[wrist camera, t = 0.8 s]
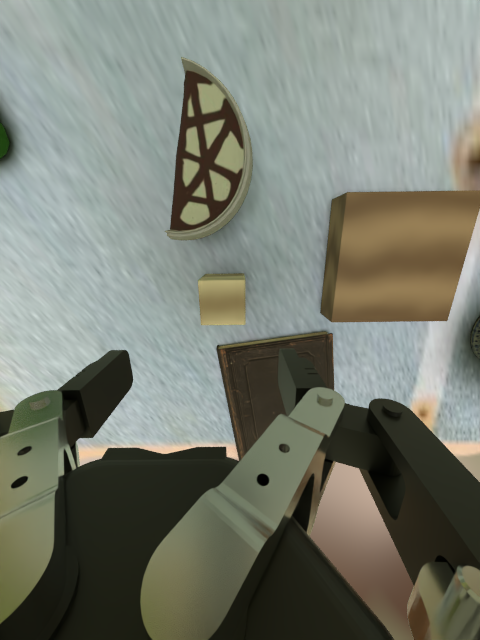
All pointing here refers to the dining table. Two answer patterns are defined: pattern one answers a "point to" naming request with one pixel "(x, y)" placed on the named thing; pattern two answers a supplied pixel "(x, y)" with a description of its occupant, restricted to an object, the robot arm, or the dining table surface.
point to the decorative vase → (476, 338)
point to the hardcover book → (265, 380)
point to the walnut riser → (396, 254)
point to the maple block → (222, 299)
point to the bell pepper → (3, 141)
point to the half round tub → (208, 157)
